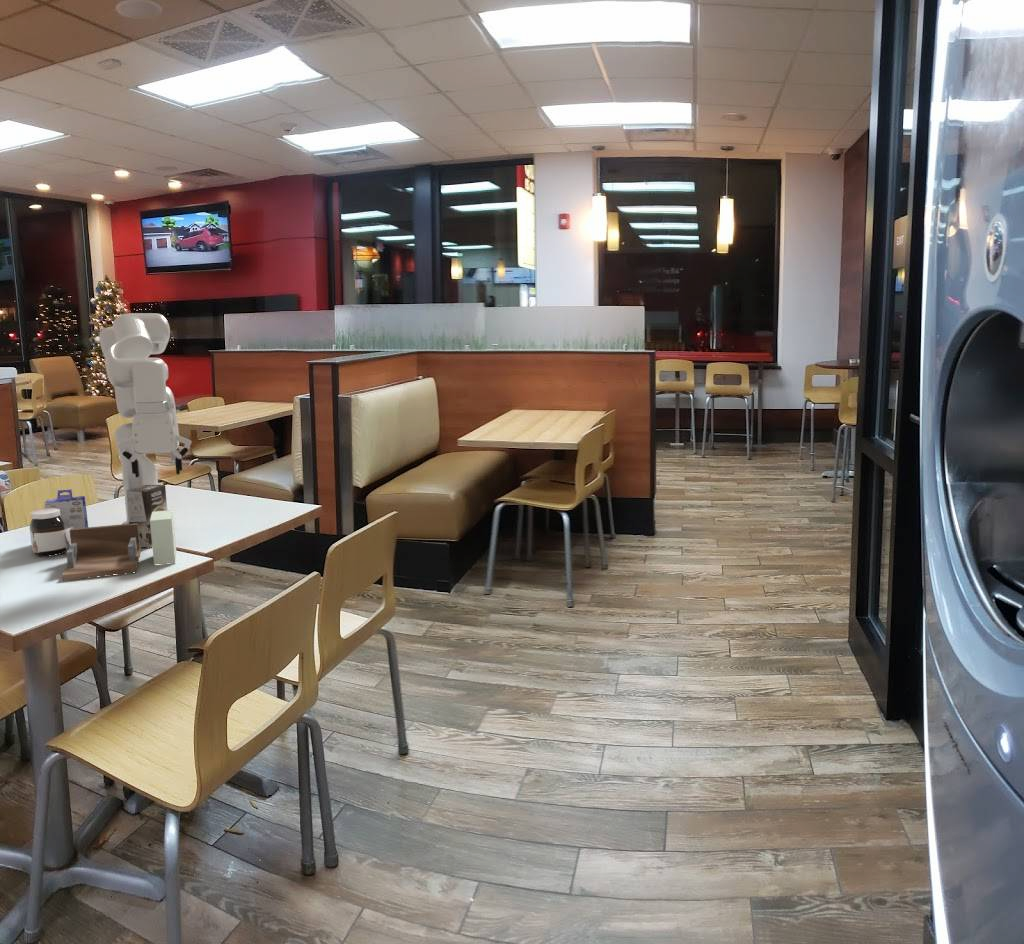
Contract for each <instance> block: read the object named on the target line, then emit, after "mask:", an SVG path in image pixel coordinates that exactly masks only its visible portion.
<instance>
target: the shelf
mask: <svg viewBox="0 0 1024 944" xmlns="http://www.w3.org/2000/svg"><path fill="white" fill-rule="evenodd" d="M70 538H71V546H70V545H69V547H68V549H67V550H66V560H67V562H66V563H67V565H66V568H65V569H64V571H63V573H62V575H61V576H62V581H63V582H65V581H64V580H68V581H74V580H73V579H77V580H82V579H81V578H87V579H89V578H88V577H96V578H98V577H97V576H105V575H113V574H125V573H133V572H136V573H137V570H136V568H137V569H138V566H139V562H138V561H140V559H139V558H141V555H140V554H142V553H141V552H142V551H141V547H140V540H139V530H138V523H134V524H122V523H121V524H112V525H99V526H90V527H89V526H88V527H87V528H75V529H70ZM137 565H138V566H137ZM125 575H126V574H125Z"/></svg>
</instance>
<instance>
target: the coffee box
mask: <svg viewBox="0 0 1024 944" xmlns="http://www.w3.org/2000/svg"><path fill="white" fill-rule="evenodd" d="M126 494H127V505H128V517H129V524H134V523H138V530H139V540H140V548H142V547H150V548H149V549H152V548H151V547H152V537H151V526H150V519H151V515H152V512H156V511H168V503H167V502H168V501H167V491H166V485H165V484H158V485H144V486H141V487H137V488H134V489H131V490H127V491H126Z"/></svg>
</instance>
